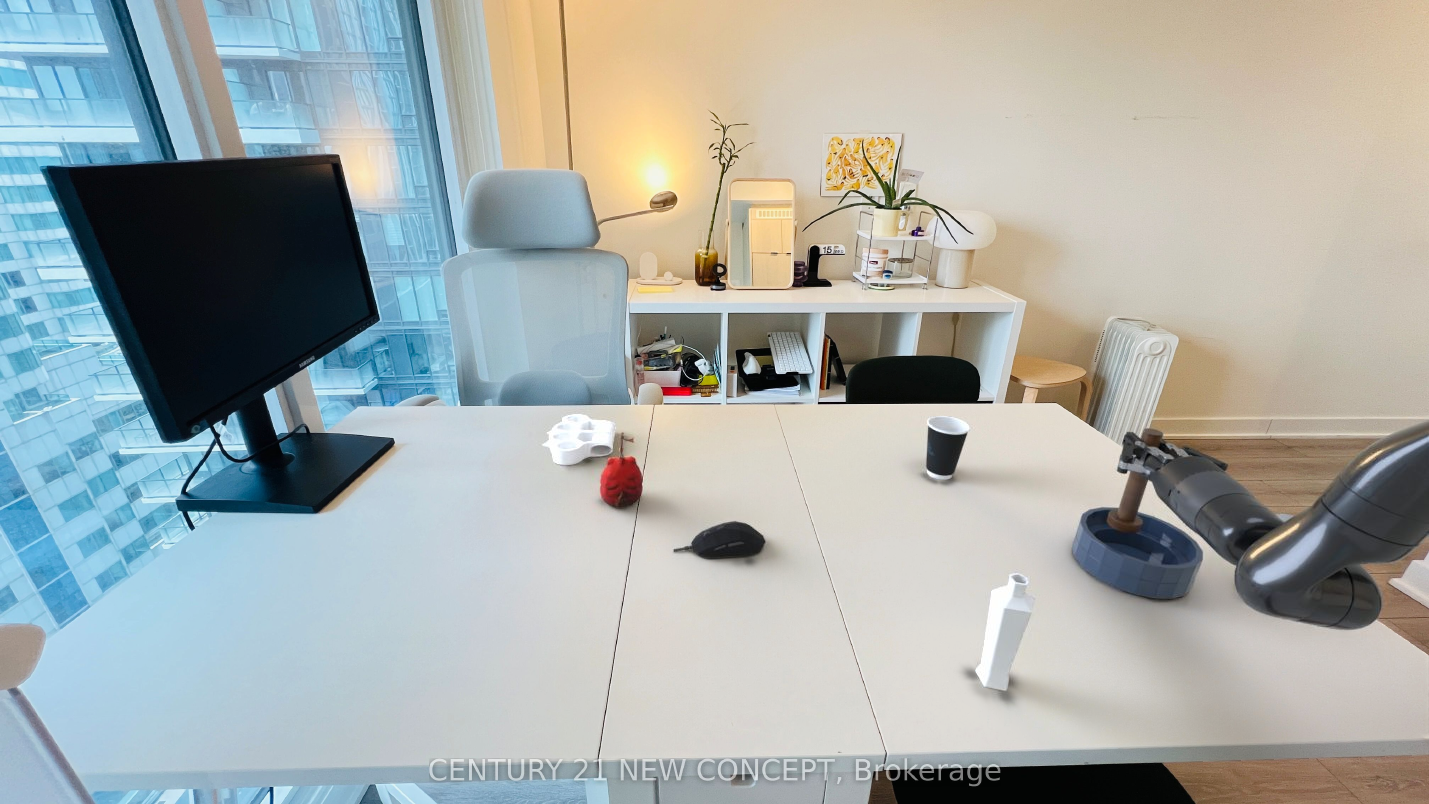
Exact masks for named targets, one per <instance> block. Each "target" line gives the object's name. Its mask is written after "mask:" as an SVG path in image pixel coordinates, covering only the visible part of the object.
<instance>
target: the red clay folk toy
mask: <svg viewBox="0 0 1429 804" xmlns="http://www.w3.org/2000/svg"><path fill="white" fill-rule="evenodd" d="M616 434H617V436H618V437H619V444H620V447H619V448H618V452H619V456H614V457H613V456H612V457H609V458H608V459H607V461H606V465H605V467H604V469H603V470H602V471H601V475H600V480H599V483H600V486H599V493H600V496H601V499H602V500H603V502H605V503H606V504H607V505H609V506H611V507H613V508H618V509H624V508H628V507H630V506H633V505H635V504H636V503H637V502H638V501H639V500H640V499H641V498H642V494H643V490H644V489H643V488H644V486H643V473H642V471H641V469H640V467H639V465H638V464H637V459H636V457H634V456H633V455H631V456H624V454H623V453H624V442H630V443H635V440H634V439H635V438H634V437H631V438H625V436H624V432H620V434H619V433H618V432H617V433H616Z"/></svg>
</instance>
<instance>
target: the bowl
mask: <svg viewBox="0 0 1429 804" xmlns="http://www.w3.org/2000/svg"><path fill="white" fill-rule="evenodd" d="M1115 509H1119V507H1110V506H1109V507H1108V506H1101V507H1100V506H1099V507H1095V508H1090V509H1088V510H1086V511H1084V512H1083V513H1082V514H1081V517H1080V520H1079V522H1078V526H1077V530H1076V532H1075V536H1074V540H1073V543H1072V545H1071V551H1072V554H1073V557H1074V559H1075V560H1076V561H1077V562H1078V563H1079V564H1080V566H1081V567H1082V568H1083V569H1084V570H1085V571H1087V572H1088V573H1089V574H1091V575H1092V576H1094V577H1095V578H1096V579H1098V580H1100V581H1102V582H1104V583H1106V584H1108V585H1110V586H1111V587H1113V588H1116V589H1119V590H1120V591H1121V590H1122V591H1124V592H1126V593H1130V594H1133V595H1137V596H1141V597H1147V598H1150V599H1169V600H1170V599H1176V598H1180V597H1183V596H1185V595H1186V594H1187V593H1189V592H1190V590H1191V589H1192V588H1193V585H1194V583H1195V580H1196V578H1197V575H1198V573H1199V571H1200V568H1201V566H1202V563H1203V561H1204V551H1203V549H1202V548H1201V545H1200V544H1199V543H1198V542H1197V541H1196V540H1195V539H1194V538H1193V537H1191V536H1190V535H1189V534H1188V533H1187V532H1186V531H1184V530H1182V529H1181V528H1179V527H1177V526H1175V524H1172V523H1170V522H1168V521H1165V520H1163V519H1161V518H1159V517H1156V516H1153V515H1150V514H1147V513H1144V512H1140V511H1138V513H1137V516H1139V517H1140V518H1141V519H1142V521H1143V524H1142V527H1141V529H1140V531H1139V532H1138V533H1125V532H1121V531H1119V530H1116V529H1114V528H1112V527H1111V526H1110V525H1109V524H1108V523H1107V517H1108V514H1109V512H1110V511H1111V510H1115Z"/></svg>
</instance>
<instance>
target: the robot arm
mask: <svg viewBox="0 0 1429 804" xmlns="http://www.w3.org/2000/svg"><path fill="white" fill-rule="evenodd" d="M1123 435H1124V436H1123V439H1122V441H1121V445H1122V450H1121V452H1120V455H1119V459H1118V463H1117V468H1116V472H1117V473H1119V474H1123V475H1126V474H1128V472H1130V471H1136V472H1140V473H1141V476H1142V477H1144V478H1145V479H1147V480H1148V482H1151V484H1152V486H1153V489H1154V491H1155V493H1156V496H1157V497H1158V498H1159V499H1160V500H1161V502H1163V504H1165V505H1166V507H1167V508H1168V509H1169V510H1170V511H1171V512H1172V513H1173V514H1174V515H1175V516H1176V517H1177V518H1178V519H1179V520H1180V521H1181V522H1182V523H1183V525H1185V526H1186V527H1188V529H1190V530H1191V531H1192V532H1193V533H1195V534H1197V535H1198V536H1199V537H1200V538H1201V539H1202V540H1203V541H1204V542H1205V543H1206V544H1207V545H1208V546H1209V547H1210V548H1211V549H1212V550H1213V551H1214V552H1215V553H1216V554H1217V555H1218V556H1219V557H1221V558H1222V559H1223V560H1225V562H1227V563H1228V564H1231V565H1233V566H1235V568H1234V569H1235V570H1234V574H1233V575H1234V577H1233V579H1234V580H1233V581H1234V586H1235V589H1236V592H1237V595H1238V596H1239V597H1240V599H1241V601H1242V602H1244V603H1245V604H1246V605H1247V606H1248V607H1249V608H1250V609H1252V610H1254V611H1255V612H1258V613H1260V614H1263V615H1264V616H1268V617H1271V618H1272V617H1273V618H1277V619H1281V620H1287V621H1292V622H1295V623H1296V622H1297V623H1301V624H1306V625H1309V626H1315V627H1320V628H1324V629H1329V630H1334V631H1335V630H1336V631H1355V630H1360V629H1364V628H1366V627H1369V626H1371V625H1372V624H1373V623H1375V622H1376V620H1377V619H1378V618H1379V617H1380V615H1381V613H1382V610H1383V602H1384V601H1383V595H1382V592H1381V589H1380V587H1379V584H1378V583H1377V582H1376V579H1375V578H1374V577H1373V576H1372V574H1371V573H1370V572H1369V571H1368V570H1367V569H1366V568H1365V567H1364V566H1363V565H1384V564H1385V565H1387V564H1393V563H1397V562H1399V561H1401V560H1403V559H1404V558H1406V557H1408V556H1409V555H1410V554H1411V553H1413V552H1414V551H1415V550H1416V549H1417V548H1418V547H1419V546H1420V545H1421V544H1422V543H1423V542H1424V541H1425V540H1427V538H1429V419H1427V420H1424V421H1422V422H1419V423H1417V424H1414V425H1410V426H1408V427H1406V428H1403V429H1400V430H1398V431H1395V432H1392V433H1390V434H1388V435H1386V436H1384V437H1381V438H1379V439H1378V440H1376V441H1374V442H1372V443H1371V444H1369V445H1368V446H1366V447H1365V448H1363V449H1362V450H1361V451H1360V452H1358V453H1357V454H1356V455H1355V456H1354V457H1353V458H1352V459H1350V461H1349V462H1348V463H1347V464H1346V465H1345V466H1344V467H1343V469H1342V470H1341V471H1340V472H1339V473H1338V474H1337V475H1336V477H1334V478H1333V480H1332V481H1331V482H1330V483H1329V484H1328V486H1327V487H1326V488H1325V489H1324V491H1323V492H1322V493H1321V494H1320V496H1318V497H1317V499H1316V500H1315V501H1314V502H1313V504H1311V506H1309V507H1307V508H1305V509H1304V510H1302V511H1300V512H1299V513H1297V514H1295V515H1293V517H1292V518H1290V519H1288V520H1287V521H1285V522H1284V521H1282V520H1281V519H1280V518H1279V517H1278V516H1277V515H1276V514H1275V513H1274V512H1273V511H1272V510H1271V509H1270V508H1268V507H1267V506H1266V505H1264V503H1262V502H1261V501H1259V500H1258V499H1257V498H1256V497H1255V496H1254V494H1253V493H1252V492H1250V490H1248V488H1247V487H1245V486H1244V485H1243V484H1241V483H1240V482H1239V481H1238V480H1236V479H1235V478H1234V477H1233V476H1232V475H1230V474H1229V473H1228V472H1227V470H1228V468H1229V464H1228V463H1226V462H1224V461H1222V460H1220V459H1217V458H1215V457H1213V456H1210V455H1208V454H1206V453H1204V452H1201V451H1199V450H1196V449H1195V448H1192V447H1189V446H1183V445H1182V446H1181V448H1179V447H1177V446H1176V444H1174V443H1168V441H1166V440H1165V439H1164V438H1162V440H1161V443H1160V446H1159V449H1158V448H1157V447H1150V446H1148V445H1147V444H1145V443H1144V441H1143V440H1141V437H1140V436H1138V435H1137V434H1136V433H1135V431H1126V433H1125V434H1123Z"/></svg>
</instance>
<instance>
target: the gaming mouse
mask: <svg viewBox="0 0 1429 804" xmlns="http://www.w3.org/2000/svg"><path fill="white" fill-rule="evenodd" d="M765 544H766V539H765V536H764V534H763V533H761V532H760V531H758V530H757V529H756V528H754V527H753V526H751V525H750V524H749V523H746V522H741V521H737V520H734V521H727V522H722V523H719V524H716V525H714V526H711V527H708V528H706V529H704V530H702V531H700V532H699V533H698V534H697V535H695V537H694V538H693V539H692V541H691V542H690V545H686V546H683V547H678V548H673V549H672V550H673V552H674V553H675V552H680V551H689V550H693V552H694V553H695V554H696V555H698V556H699V557H703V558H706V559H719V558H722V559H723V558H737V557H738V558H740V557H741V558H742V557H748V556H751V555H755V554H758V553H759V552H760V551H762V549H763V548H764V546H765Z"/></svg>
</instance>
